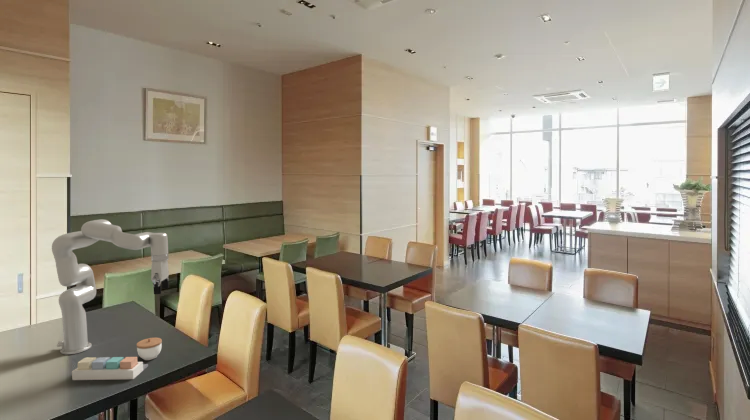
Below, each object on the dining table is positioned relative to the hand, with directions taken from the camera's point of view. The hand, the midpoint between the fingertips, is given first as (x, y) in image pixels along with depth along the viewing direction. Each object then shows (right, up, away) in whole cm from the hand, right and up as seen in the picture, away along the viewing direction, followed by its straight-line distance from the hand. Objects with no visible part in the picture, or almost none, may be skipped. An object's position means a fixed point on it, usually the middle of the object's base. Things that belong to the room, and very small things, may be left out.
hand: (161, 291), depth 197 cm
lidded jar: (-2, -31, -6) cm, 32 cm away
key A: (-2, -30, -23) cm, 38 cm away
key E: (-20, -30, -24) cm, 43 cm away
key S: (-14, -30, -24) cm, 41 cm away
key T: (-8, -30, -23) cm, 39 cm away
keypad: (-11, -32, -21) cm, 40 cm away
